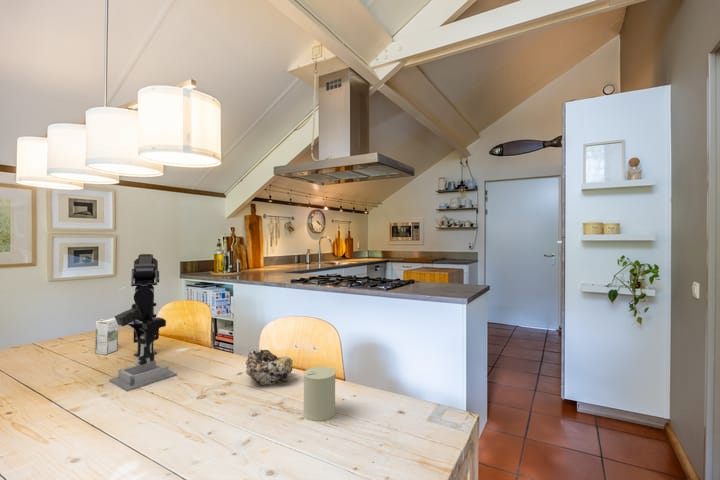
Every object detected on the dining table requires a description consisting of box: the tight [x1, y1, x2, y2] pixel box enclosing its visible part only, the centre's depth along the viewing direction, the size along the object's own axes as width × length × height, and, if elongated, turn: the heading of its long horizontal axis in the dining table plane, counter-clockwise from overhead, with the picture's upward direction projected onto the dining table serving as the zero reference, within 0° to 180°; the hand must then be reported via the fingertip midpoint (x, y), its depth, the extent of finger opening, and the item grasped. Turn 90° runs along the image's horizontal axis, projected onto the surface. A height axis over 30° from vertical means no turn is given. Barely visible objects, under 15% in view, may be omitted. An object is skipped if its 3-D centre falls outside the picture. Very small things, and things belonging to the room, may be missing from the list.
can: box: [302, 366, 337, 422], centre depth 97 cm, size 9×9×12 cm
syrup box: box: [94, 317, 119, 355], centre depth 147 cm, size 6×6×14 cm
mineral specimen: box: [245, 348, 294, 386], centre depth 118 cm, size 16×18×10 cm
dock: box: [108, 359, 178, 392], centre depth 120 cm, size 14×16×4 cm
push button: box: [134, 334, 155, 366], centre depth 120 cm, size 7×5×10 cm
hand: (144, 344), depth 120 cm, fingers closed on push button, 5 cm apart
